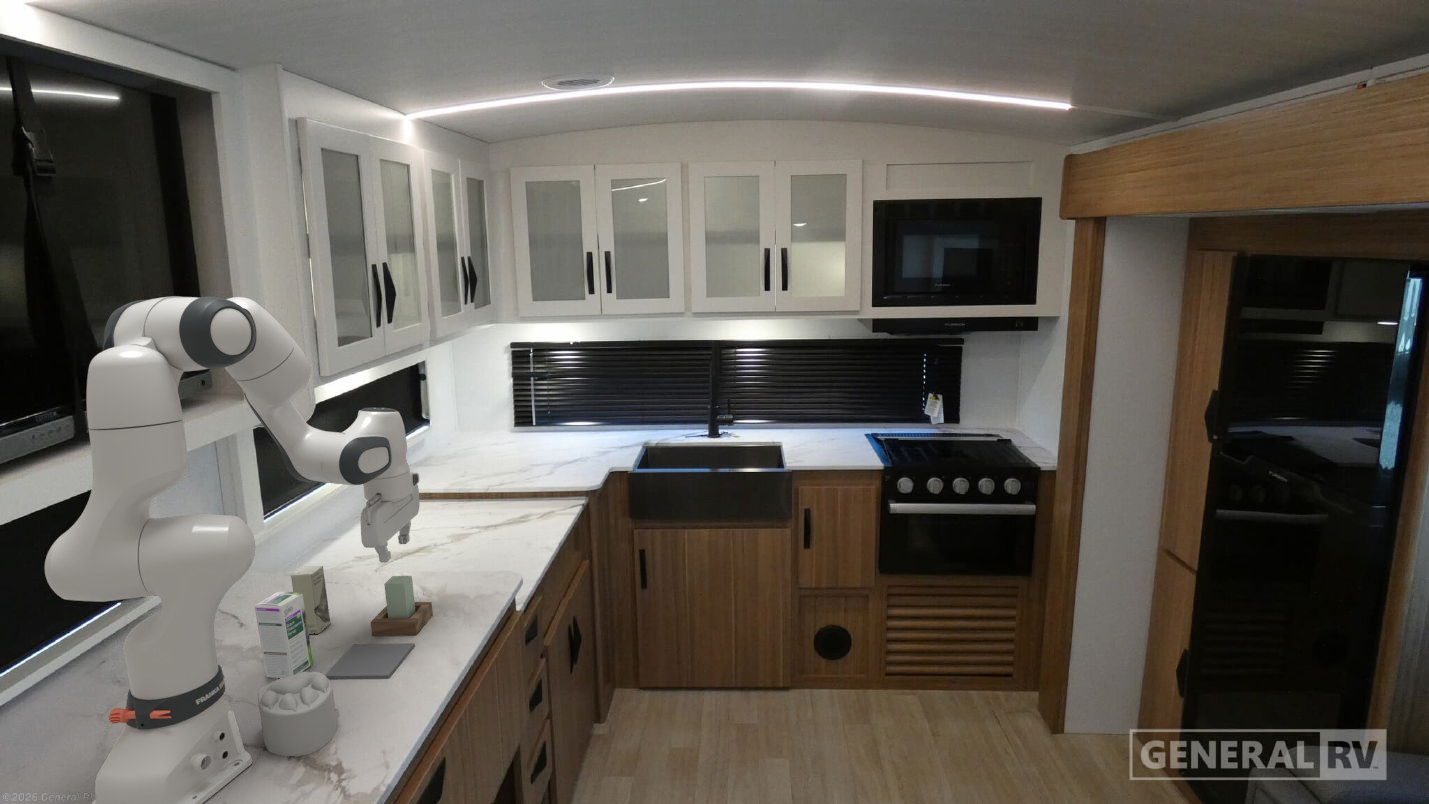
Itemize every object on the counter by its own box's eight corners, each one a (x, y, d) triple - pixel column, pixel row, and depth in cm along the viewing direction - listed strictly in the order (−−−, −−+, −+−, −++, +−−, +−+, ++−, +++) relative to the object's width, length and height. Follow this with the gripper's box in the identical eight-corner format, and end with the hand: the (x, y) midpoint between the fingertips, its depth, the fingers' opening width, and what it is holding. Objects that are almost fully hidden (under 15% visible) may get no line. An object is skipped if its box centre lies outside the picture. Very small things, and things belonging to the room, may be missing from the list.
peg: (409, 629, 168) (403, 583, 166) (389, 630, 168) (384, 583, 166) (416, 620, 172) (411, 575, 170) (397, 621, 172) (392, 576, 170)
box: (319, 634, 167) (311, 574, 165) (297, 635, 167) (289, 575, 165) (331, 622, 172) (324, 564, 170) (310, 623, 173) (302, 565, 170)
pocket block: (416, 635, 166) (414, 621, 165) (372, 635, 166) (370, 622, 165) (432, 615, 174) (431, 601, 174) (390, 615, 175) (389, 602, 174)
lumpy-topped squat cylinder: (328, 705, 141) (321, 659, 139) (345, 741, 131) (339, 691, 129) (259, 728, 135) (252, 679, 133) (272, 767, 125) (264, 714, 123)
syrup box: (292, 680, 150) (282, 605, 147) (264, 677, 151) (253, 603, 148) (313, 664, 155) (304, 592, 152) (286, 662, 156) (276, 590, 154)
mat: (389, 678, 149) (388, 675, 149) (323, 679, 150) (323, 676, 150) (415, 646, 161) (414, 643, 161) (354, 646, 162) (354, 644, 161)
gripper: (381, 503, 154) (389, 572, 157) (422, 471, 174) (428, 533, 177) (347, 503, 154) (356, 573, 157) (392, 471, 174) (399, 533, 177)
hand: (395, 551), depth 167 cm, fingers open, 8 cm apart
